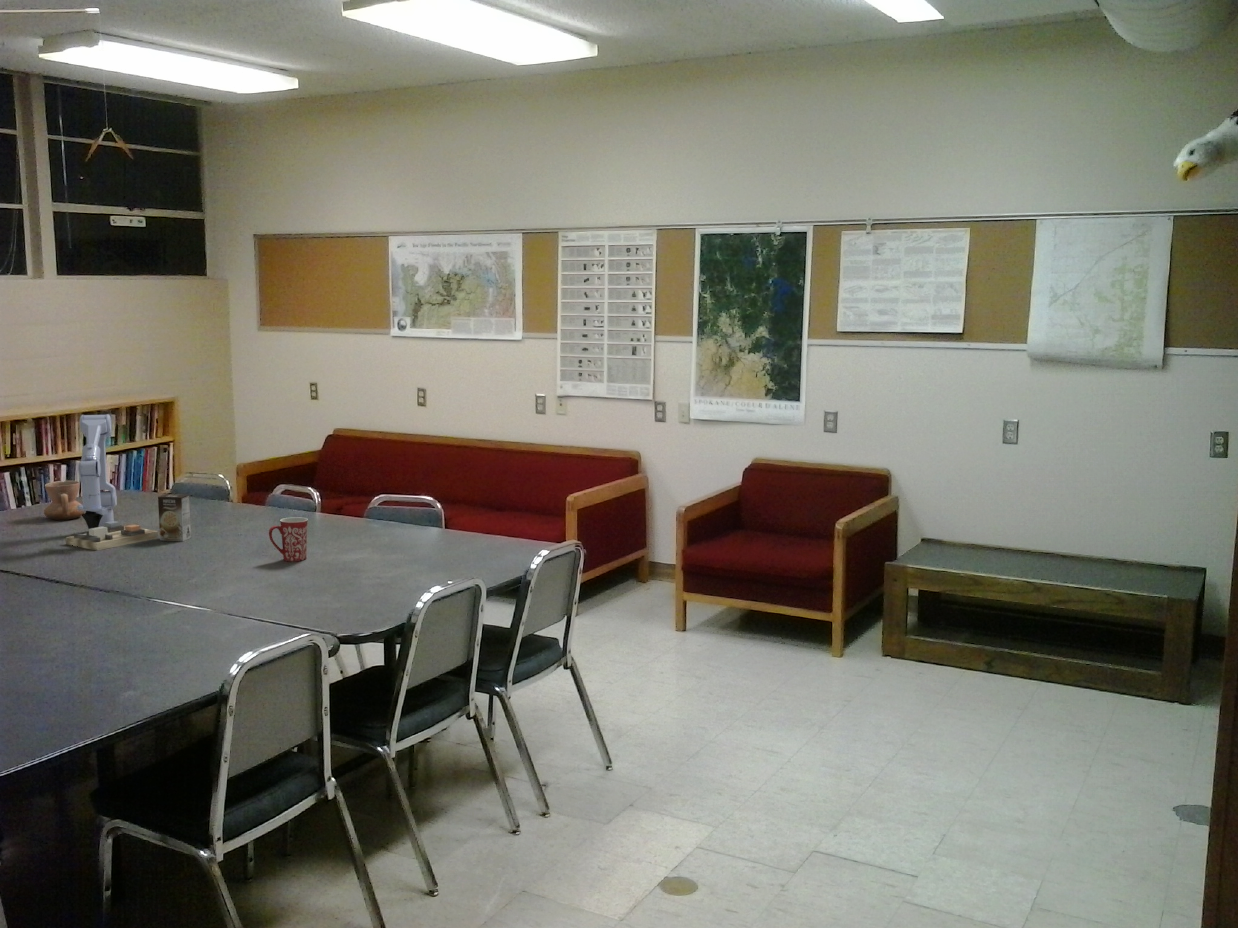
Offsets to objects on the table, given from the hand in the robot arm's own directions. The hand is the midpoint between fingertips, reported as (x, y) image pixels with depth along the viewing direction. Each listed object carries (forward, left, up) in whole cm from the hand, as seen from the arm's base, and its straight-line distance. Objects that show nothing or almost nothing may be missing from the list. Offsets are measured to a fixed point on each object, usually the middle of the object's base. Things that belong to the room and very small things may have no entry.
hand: (93, 532), depth 379 cm
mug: (+73, +22, -5) cm, 77 cm away
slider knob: (+3, 0, -2) cm, 3 cm away
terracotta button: (+5, +12, -1) cm, 13 cm away
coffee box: (+14, +22, -5) cm, 27 cm away
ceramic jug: (-55, +23, -5) cm, 59 cm away
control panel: (-2, +8, -5) cm, 9 cm away
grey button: (-7, +12, -1) cm, 14 cm away
